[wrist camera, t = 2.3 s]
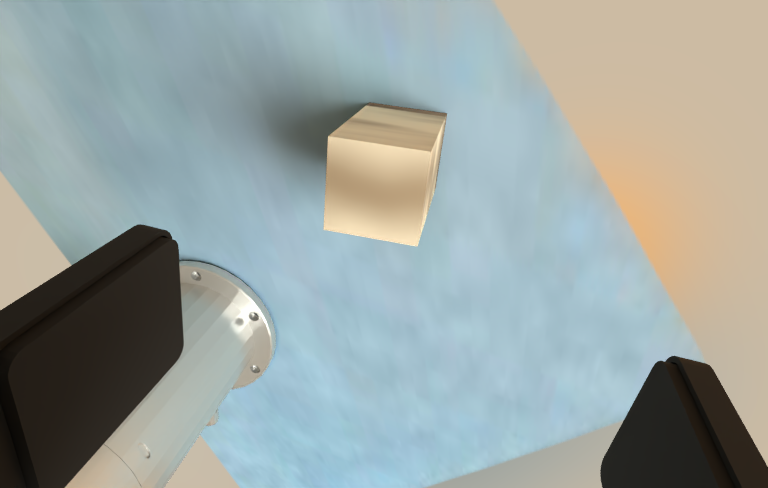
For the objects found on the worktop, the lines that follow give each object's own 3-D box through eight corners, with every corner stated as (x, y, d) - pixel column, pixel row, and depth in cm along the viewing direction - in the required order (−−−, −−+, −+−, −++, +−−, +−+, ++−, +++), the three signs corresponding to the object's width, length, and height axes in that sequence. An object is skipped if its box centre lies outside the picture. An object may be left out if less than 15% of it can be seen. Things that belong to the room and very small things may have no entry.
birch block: (435, 188, 33) (417, 246, 25) (363, 176, 34) (323, 229, 26) (447, 113, 31) (430, 151, 23) (369, 102, 32) (328, 136, 24)
